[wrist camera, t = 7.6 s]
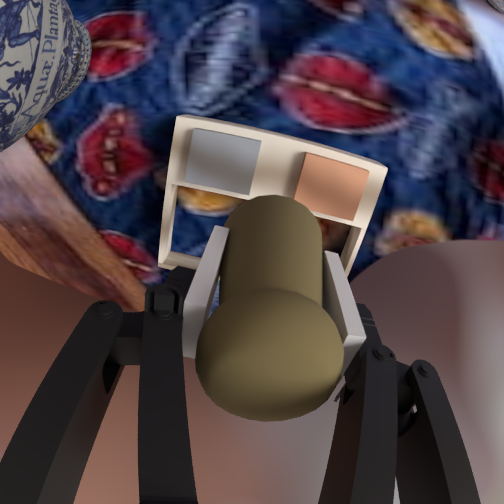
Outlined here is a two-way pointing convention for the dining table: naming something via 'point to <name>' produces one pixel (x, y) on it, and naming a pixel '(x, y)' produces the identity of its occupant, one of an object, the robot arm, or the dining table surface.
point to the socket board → (268, 177)
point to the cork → (270, 317)
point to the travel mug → (498, 5)
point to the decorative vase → (37, 62)
